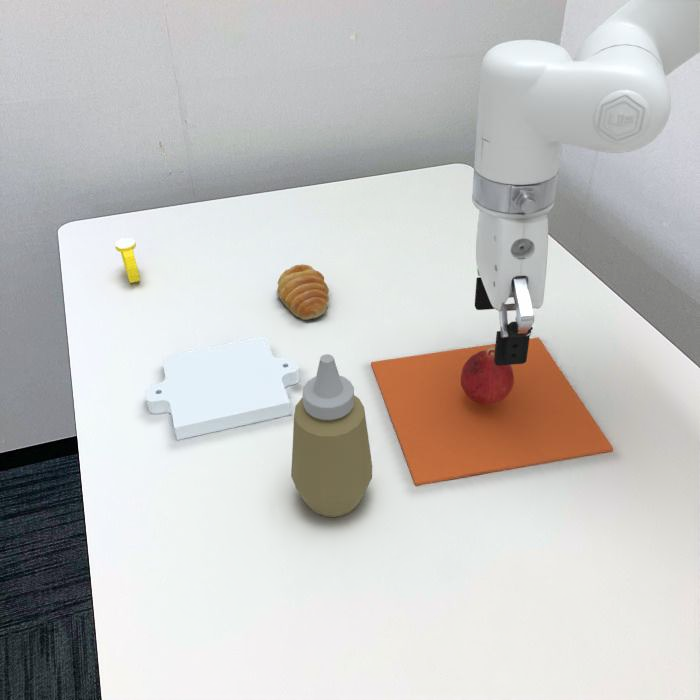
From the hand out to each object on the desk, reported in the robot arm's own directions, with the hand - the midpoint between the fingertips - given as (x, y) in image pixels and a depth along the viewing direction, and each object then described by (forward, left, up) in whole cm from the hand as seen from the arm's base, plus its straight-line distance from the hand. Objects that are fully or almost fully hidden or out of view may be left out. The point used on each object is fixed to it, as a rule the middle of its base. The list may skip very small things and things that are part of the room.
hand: (498, 334), depth 79 cm
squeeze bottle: (+19, +12, -11) cm, 24 cm away
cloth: (+1, 0, -10) cm, 10 cm away
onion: (+1, 0, -10) cm, 10 cm away
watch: (+46, -31, -11) cm, 56 cm away
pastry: (+21, -23, -11) cm, 33 cm away
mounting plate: (+31, -5, -11) cm, 33 cm away
